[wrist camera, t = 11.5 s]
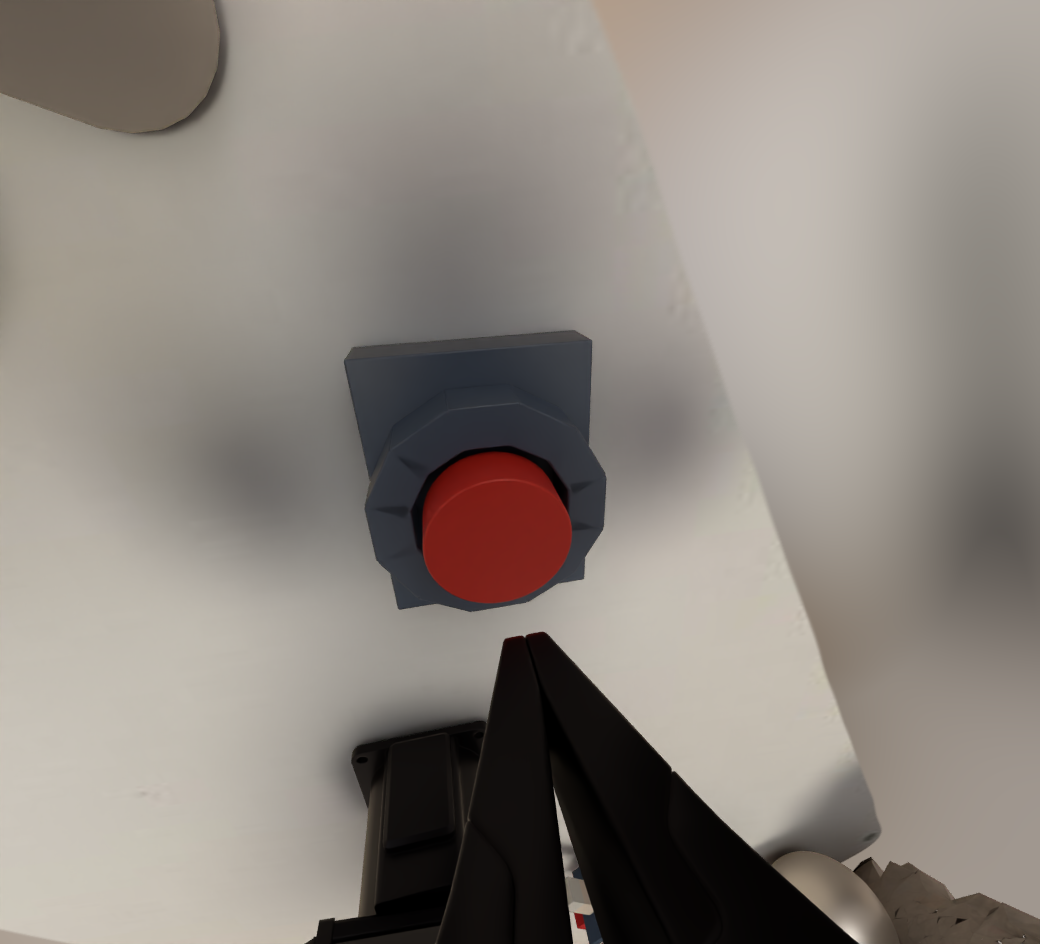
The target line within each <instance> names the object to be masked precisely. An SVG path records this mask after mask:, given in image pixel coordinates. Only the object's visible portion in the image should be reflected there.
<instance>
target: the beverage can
mask: <svg viewBox="0 0 1040 944" xmlns="http://www.w3.org/2000/svg"><path fill="white" fill-rule="evenodd" d="M219 41H220V30H219V25H218V20H217V15H216V9H215V4H214V0H0V93H2V94H5V95H8V96H11V97H13V98H16V99H19V100H22V101H25V102H27V103H30V104H33V105H36V106H39V107H41V108H44V109H47V110H50V111H53V112H55V113H58V114H61V115H64V116H67V117H69V118H72V119H75V120H78V121H81V122H83V123H86V124H89V125H92V126H95V127H98V128H101V129H108V130H114V131H121V132H127V133H140V132H147V131H155V130H163V129H165V128H167V127H169V126H171V125H173V124H174V123H176V122H178V121H180V120H182V119H184V118H186V117H188V116H189V115H190V114H191V112H192V111H193V110H194V109H195V108H196V107H197V106H198V105H199V103H200V102H201V101H202V100H203V99H204V98H205V97H206V95H207V93H208V90H209V88H210V85H211V83H212V80H213V78H214V75H215V73H216V70H217V67H218V54H219Z"/></svg>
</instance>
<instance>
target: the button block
mask: <svg viewBox="0 0 1040 944" xmlns="http://www.w3.org/2000/svg"><path fill="white" fill-rule="evenodd" d="M344 365H345V370H346V374H347V379H348V383H349V388H350V392H351V397H352V401H353V406H354V411H355V415H356V420H357V424H358V429H359V433H360V438H361V442H362V447H363V452H364V456H365V461H366V465H367V470H368V474H369V479H370V484H369V488H368V493H367V498H366V502H365V513H366V517H367V522H368V526H369V530H370V534H371V539H372V543H373V547H374V552H375V556H376V560H377V561H378V562H379V564H381V565H382V566H383V567H384V568H385V569H386V570H387V571H388V572H389V573H390V574H391V579H392V584H393V588H394V593H395V597H396V602H397V606H398V609H399V610H400V609H406V608H412V607H419V606H425V605H431V604H441V605H445V606H449V607H453V608H457V609H461V610H465V611H469V612H472V611H480V610H486V609H492V608H497V607H503V606H509V605H515V604H521V603H526V602H527V601H528V602H529V601H531V600H532V599H534V598H535V597H537V596H539V595H540V594H542V593H543V592H545V591H547V590H548V589H550V588H551V587H553V586H555V585H556V584H558V583H564V582H570V581H576V580H582V579H584V569H585V556H586V555H587V553H588V552H589V550H590V549H591V547H592V546H593V544H594V543H595V541H596V540H597V538H598V536H599V535H600V533H601V532H602V530H603V527H604V512H605V495H606V476H605V472H604V470H603V468H602V467H601V465H600V464H599V462H598V460H597V459H596V457H595V455H594V454H593V452H592V451H591V449H590V447H589V424H590V395H591V366H592V340H591V339H589V338H587V337H586V336H584V335H582V334H580V333H578V332H577V331H575V330H573V331H560V332H547V333H534V334H521V335H508V336H495V337H482V338H469V339H456V340H443V341H430V342H417V343H404V344H391V345H378V346H365V347H353V348H352V349H351V351H350V352H349V354H348V355H347V357H346V358H345V360H344ZM492 451H498V452H508V453H513V454H516V455H519V456H522V457H525V458H527V459H529V460H531V461H532V462H533V463H535V464H536V465H538V466H539V467H540V468H541V469H542V470H543V471H544V472H545V473H546V475H547V476H548V477H549V479H550V481H551V482H552V484H553V486H554V488H555V490H556V492H557V493H558V495H559V497H560V499H561V501H562V503H563V505H564V506H565V508H566V510H567V512H568V515H569V517H570V521H571V526H572V540H571V545H570V550H569V553H568V555H567V558H566V560H565V561H564V563H563V565H562V566H561V568H560V569H559V571H558V572H557V573H556V574H555V575H554V576H553V577H552V579H550V580H549V581H548V582H547V583H546V584H545V585H543V586H542V587H540V588H539V589H537V590H536V591H534V592H532V593H530V594H528V595H526V596H524V597H521V598H518V599H515V600H511V601H507V602H501V603H477V602H472V601H467V600H464V599H461V598H459V597H457V596H454V595H452V594H451V593H449V592H447V591H446V590H445V589H443V588H442V587H441V586H440V585H439V584H438V583H437V582H436V581H435V580H434V579H433V577H432V576H431V574H430V573H429V571H428V569H427V566H426V564H425V561H424V557H423V505H424V501H425V497H426V495H427V492H428V490H429V489H430V487H431V485H432V483H433V482H434V481H435V480H436V478H437V477H438V476H439V475H440V474H441V473H442V472H443V471H444V470H445V469H447V468H448V467H449V466H450V465H452V464H454V463H455V462H457V461H459V460H461V459H463V458H465V457H467V456H470V455H474V454H477V453H483V452H492Z"/></svg>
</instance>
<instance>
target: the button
mask: <svg viewBox="0 0 1040 944" xmlns="http://www.w3.org/2000/svg"><path fill="white" fill-rule="evenodd" d="M571 540H572V526H571V521H570V517H569V515H568V512H567V510H566V508H565V506H564V505H563V503H562V501H561V499H560V497H559V495H558V493H557V492H556V490H555V488H554V486H553V484H552V482H551V481H550V479H549V477H548V476H547V475H546V473H545V472H544V471H543V470H542V469H541V468H540V467H539V466H538V465H536V464H535V463H533V462H532V461H531V460H529V459H527V458H525V457H522V456H519V455H516V454H513V453H508V452H498V451H492V452H483V453H477V454H474V455H470V456H467V457H465V458H463V459H461V460H459V461H457V462H455V463H454V464H452V465H450V466H449V467H448V468H447V469H445V470H444V471H443V472H442V473H441V474H440V475H439V476H438V477H437V478H436V480H435V481H434V482H433V483H432V485H431V487H430V489H429V490H428V492H427V495H426V497H425V501H424V505H423V557H424V561H425V564H426V566H427V569H428V571H429V573H430V574H431V576H432V577H433V579H434V580H435V581H436V582H437V583H438V584H439V585H440V586H441V587H442V588H443V589H445V590H446V591H447V592H449V593H451V594H452V595H454V596H457V597H459V598H461V599H464V600H467V601H472V602H477V603H501V602H507V601H511V600H515V599H518V598H521V597H524V596H526V595H528V594H530V593H532V592H534V591H536V590H537V589H539V588H540V587H542V586H543V585H545V584H546V583H547V582H548V581H549V580H550V579H552V577H553V576H554V575H555V574H556V573H557V572H558V571H559V569H560V568H561V566H562V565H563V563H564V561H565V560H566V558H567V555H568V553H569V550H570V545H571Z"/></svg>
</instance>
